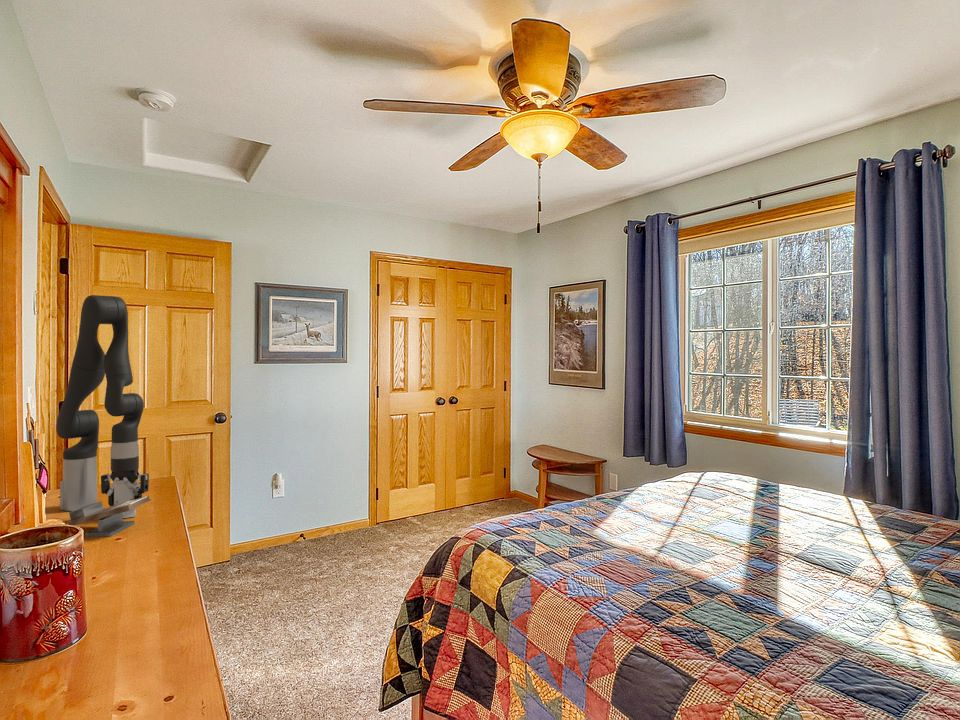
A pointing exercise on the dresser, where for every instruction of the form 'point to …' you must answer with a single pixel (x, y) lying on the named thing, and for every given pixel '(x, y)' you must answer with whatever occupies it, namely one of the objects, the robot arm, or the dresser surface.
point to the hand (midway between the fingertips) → (125, 506)
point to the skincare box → (124, 496)
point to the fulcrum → (109, 526)
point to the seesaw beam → (102, 510)
